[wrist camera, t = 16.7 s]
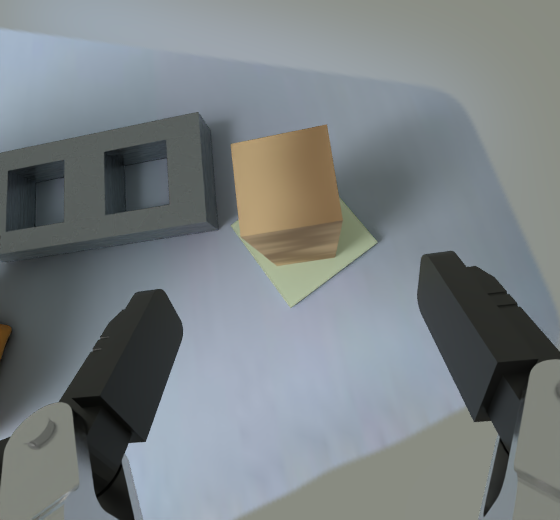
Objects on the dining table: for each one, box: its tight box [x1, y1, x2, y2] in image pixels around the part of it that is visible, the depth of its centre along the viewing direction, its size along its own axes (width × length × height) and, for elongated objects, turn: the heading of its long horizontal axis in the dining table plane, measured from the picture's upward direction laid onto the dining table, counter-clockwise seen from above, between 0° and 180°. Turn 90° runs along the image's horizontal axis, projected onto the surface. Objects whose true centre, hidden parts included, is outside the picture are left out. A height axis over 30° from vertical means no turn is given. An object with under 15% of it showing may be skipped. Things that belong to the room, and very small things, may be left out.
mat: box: [231, 197, 377, 308], centre depth 23 cm, size 8×8×1 cm
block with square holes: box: [0, 112, 218, 262], centre depth 25 cm, size 20×9×2 cm, turn 96°
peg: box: [231, 125, 343, 266], centre depth 18 cm, size 4×4×10 cm
